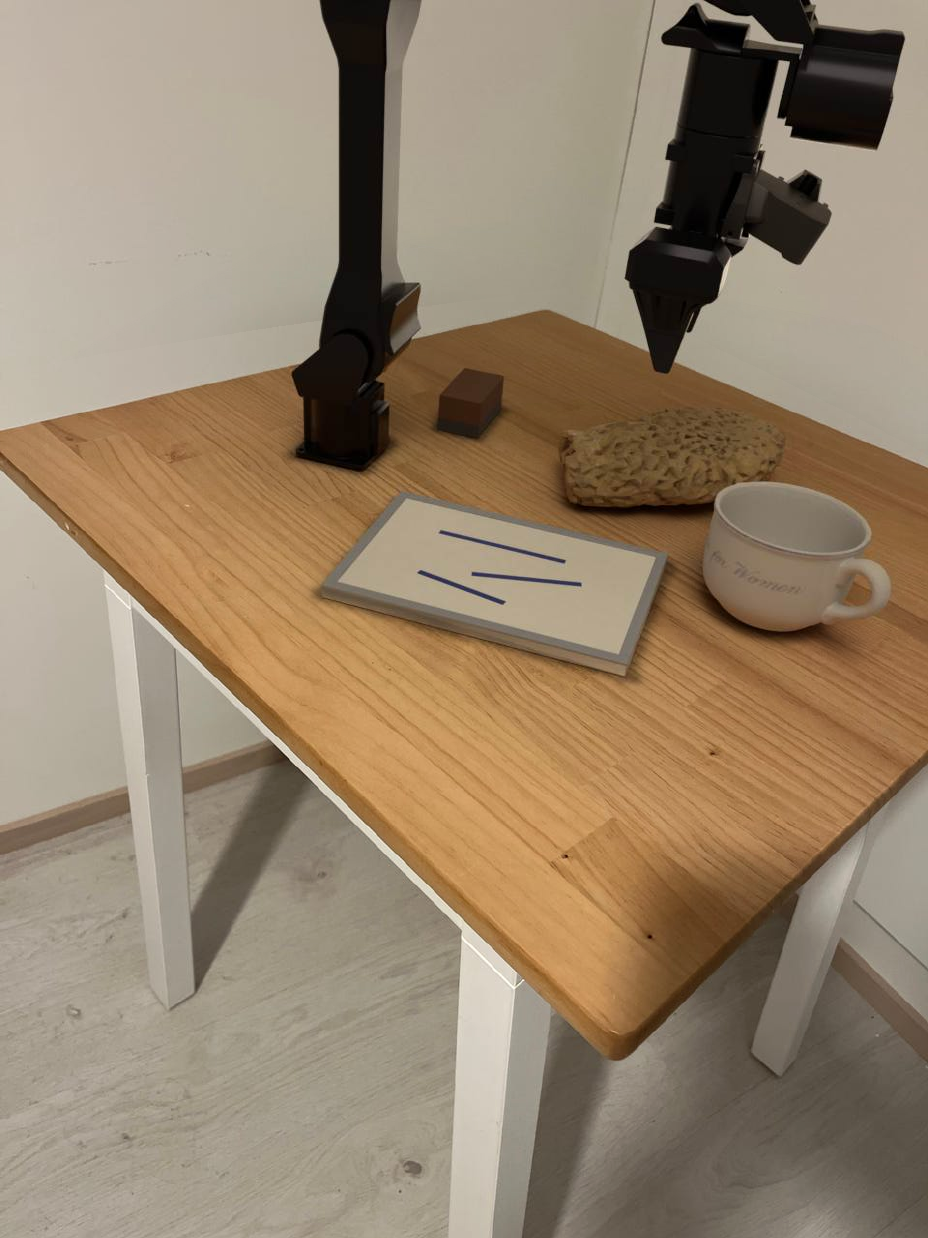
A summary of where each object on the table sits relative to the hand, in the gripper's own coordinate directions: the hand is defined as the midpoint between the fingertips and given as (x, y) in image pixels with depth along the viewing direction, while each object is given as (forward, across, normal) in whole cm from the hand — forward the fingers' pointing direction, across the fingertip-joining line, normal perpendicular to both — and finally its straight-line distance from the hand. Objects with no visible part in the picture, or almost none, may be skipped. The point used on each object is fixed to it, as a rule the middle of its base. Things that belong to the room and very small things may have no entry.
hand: (673, 350), depth 81 cm
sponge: (+14, +5, -1) cm, 15 cm away
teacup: (+14, -11, -13) cm, 22 cm away
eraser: (+14, +10, +19) cm, 26 cm away
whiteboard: (+14, -15, +7) cm, 22 cm away
